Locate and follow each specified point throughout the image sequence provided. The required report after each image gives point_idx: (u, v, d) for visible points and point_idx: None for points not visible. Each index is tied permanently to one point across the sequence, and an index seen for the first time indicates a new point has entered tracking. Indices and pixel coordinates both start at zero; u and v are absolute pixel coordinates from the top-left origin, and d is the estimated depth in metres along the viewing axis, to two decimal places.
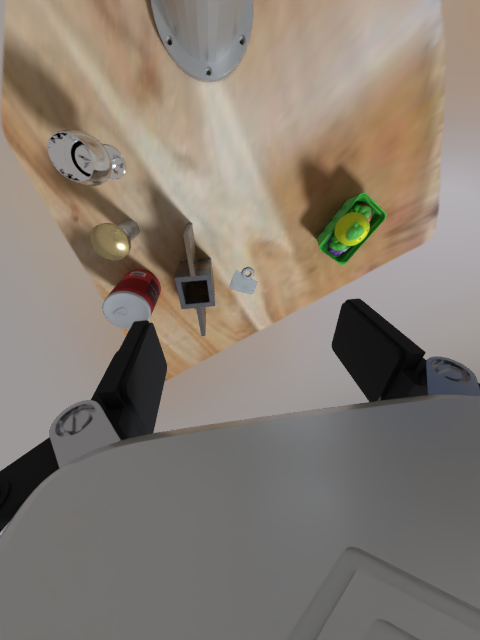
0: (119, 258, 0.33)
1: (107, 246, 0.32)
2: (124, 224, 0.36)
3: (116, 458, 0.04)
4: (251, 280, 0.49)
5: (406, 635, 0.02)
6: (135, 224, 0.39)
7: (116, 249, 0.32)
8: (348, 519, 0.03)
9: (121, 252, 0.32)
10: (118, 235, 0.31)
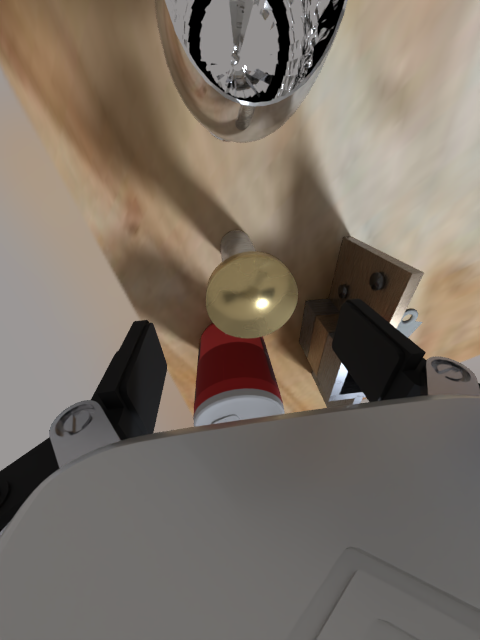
0: (261, 333, 0.13)
1: (244, 311, 0.12)
2: (246, 243, 0.17)
3: (116, 458, 0.04)
4: (406, 327, 0.29)
5: (406, 635, 0.02)
6: None
7: (263, 316, 0.13)
8: (348, 519, 0.03)
9: (271, 321, 0.13)
10: (281, 284, 0.12)
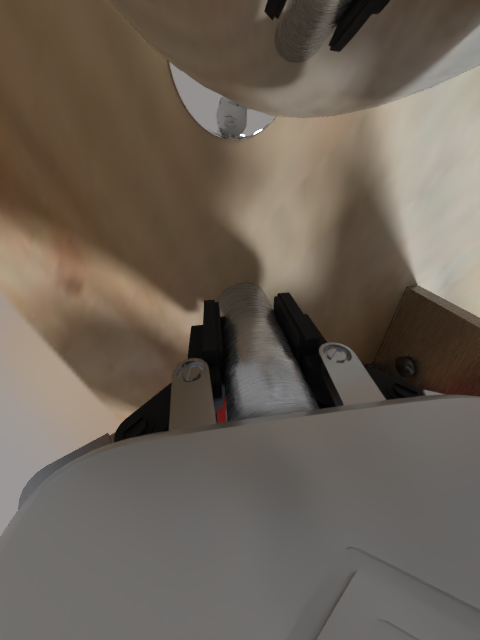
0: None
1: None
2: (266, 323, 0.09)
3: (116, 458, 0.04)
4: None
5: (406, 635, 0.02)
6: None
7: None
8: (348, 519, 0.03)
9: None
10: None
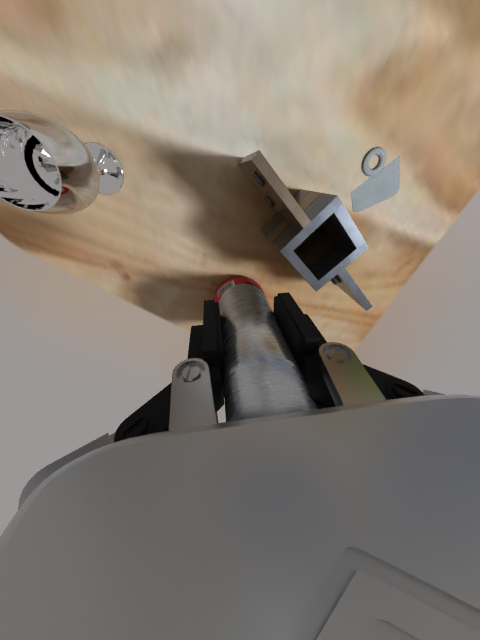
0: None
1: None
2: (265, 323, 0.09)
3: (116, 458, 0.04)
4: (386, 169, 0.25)
5: (406, 635, 0.02)
6: (266, 299, 0.12)
7: None
8: (348, 519, 0.03)
9: None
10: None
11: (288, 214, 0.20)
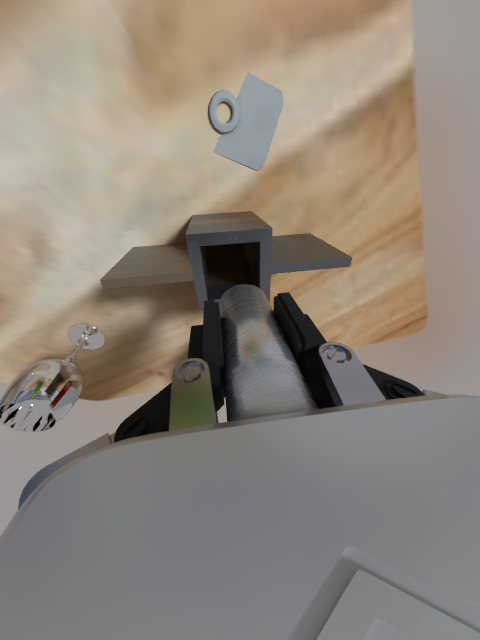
0: None
1: None
2: (266, 324, 0.09)
3: (116, 458, 0.04)
4: (244, 99, 0.18)
5: (406, 635, 0.02)
6: None
7: None
8: (348, 519, 0.03)
9: None
10: None
11: None
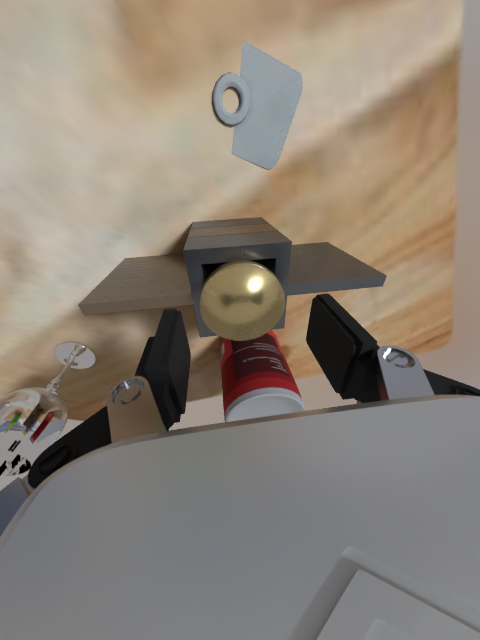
0: (252, 336, 0.14)
1: (235, 315, 0.13)
2: None
3: (116, 458, 0.04)
4: (255, 83, 0.15)
5: (406, 635, 0.02)
6: None
7: (253, 319, 0.14)
8: (348, 519, 0.03)
9: (261, 325, 0.14)
10: (269, 290, 0.13)
11: None
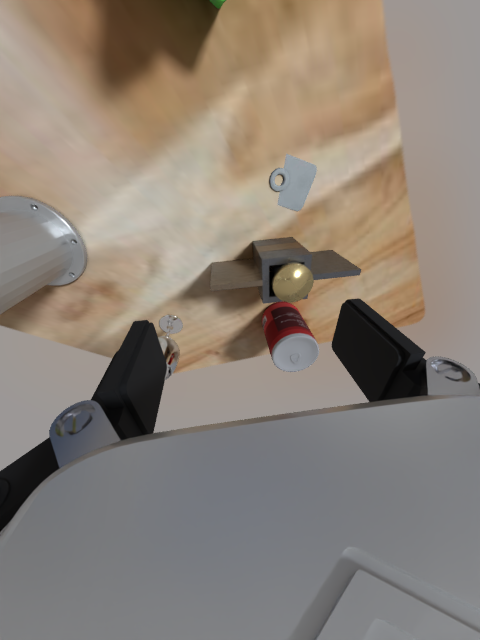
0: (296, 299, 0.29)
1: (289, 288, 0.28)
2: None
3: (116, 458, 0.04)
4: (292, 171, 0.29)
5: (406, 635, 0.02)
6: None
7: (297, 290, 0.28)
8: (348, 519, 0.03)
9: (301, 293, 0.28)
10: (306, 276, 0.27)
11: None
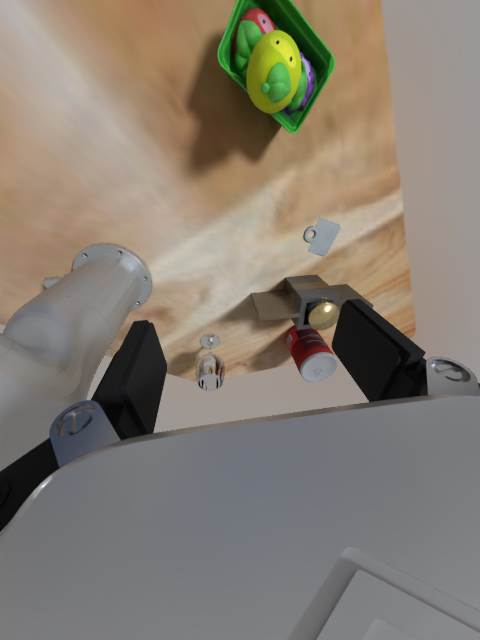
0: (325, 328, 0.37)
1: (321, 320, 0.36)
2: None
3: (116, 458, 0.04)
4: (321, 228, 0.38)
5: (406, 635, 0.02)
6: None
7: (327, 321, 0.37)
8: (348, 519, 0.03)
9: (329, 323, 0.37)
10: (334, 311, 0.36)
11: None
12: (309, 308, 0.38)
